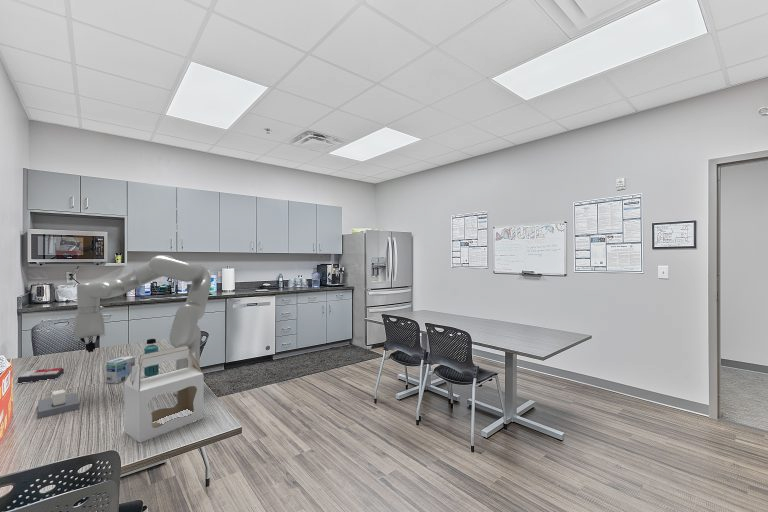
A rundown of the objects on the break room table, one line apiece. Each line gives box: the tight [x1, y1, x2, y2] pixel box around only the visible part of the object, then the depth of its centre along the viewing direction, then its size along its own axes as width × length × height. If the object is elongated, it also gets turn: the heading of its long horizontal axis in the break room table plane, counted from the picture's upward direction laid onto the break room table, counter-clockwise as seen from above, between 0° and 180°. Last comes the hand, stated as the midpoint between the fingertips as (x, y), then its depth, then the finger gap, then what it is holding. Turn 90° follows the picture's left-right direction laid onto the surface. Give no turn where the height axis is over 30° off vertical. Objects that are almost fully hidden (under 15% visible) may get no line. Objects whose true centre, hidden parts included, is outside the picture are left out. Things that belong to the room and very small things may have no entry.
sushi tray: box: [16, 367, 65, 383], centre depth 182 cm, size 11×4×15 cm
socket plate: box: [37, 392, 80, 419], centre depth 146 cm, size 16×12×3 cm
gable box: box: [123, 346, 205, 443], centre depth 130 cm, size 22×13×28 cm, turn 145°
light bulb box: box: [105, 355, 136, 385], centre depth 179 cm, size 11×7×11 cm, turn 168°
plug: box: [52, 389, 66, 406], centre depth 143 cm, size 5×4×7 cm
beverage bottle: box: [143, 338, 160, 377], centre depth 182 cm, size 6×7×20 cm
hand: (90, 351), depth 154 cm, fingers closed
